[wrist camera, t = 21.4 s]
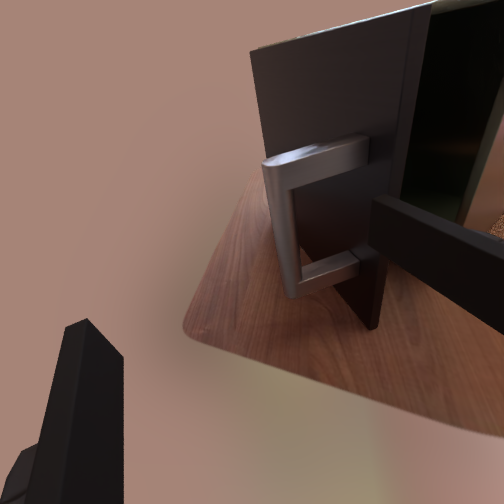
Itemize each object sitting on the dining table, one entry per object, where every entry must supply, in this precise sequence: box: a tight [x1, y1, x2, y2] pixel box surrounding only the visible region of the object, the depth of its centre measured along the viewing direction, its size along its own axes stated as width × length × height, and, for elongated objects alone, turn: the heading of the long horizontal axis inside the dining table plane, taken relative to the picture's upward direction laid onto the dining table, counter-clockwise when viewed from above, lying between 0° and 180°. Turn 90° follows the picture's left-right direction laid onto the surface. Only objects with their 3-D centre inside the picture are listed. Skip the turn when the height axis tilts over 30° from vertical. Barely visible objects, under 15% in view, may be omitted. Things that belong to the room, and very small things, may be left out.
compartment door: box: [250, 3, 432, 330], centre depth 28 cm, size 8×26×23 cm, turn 17°
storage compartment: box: [258, 0, 504, 232], centre depth 33 cm, size 18×26×24 cm
